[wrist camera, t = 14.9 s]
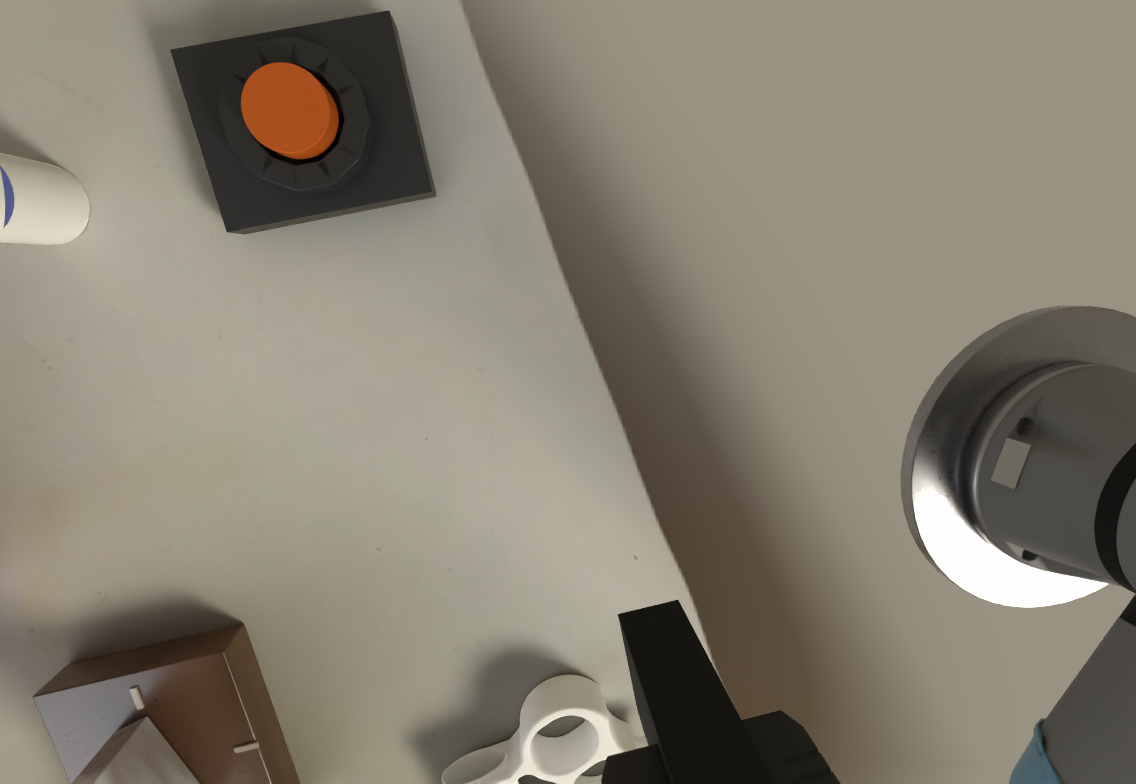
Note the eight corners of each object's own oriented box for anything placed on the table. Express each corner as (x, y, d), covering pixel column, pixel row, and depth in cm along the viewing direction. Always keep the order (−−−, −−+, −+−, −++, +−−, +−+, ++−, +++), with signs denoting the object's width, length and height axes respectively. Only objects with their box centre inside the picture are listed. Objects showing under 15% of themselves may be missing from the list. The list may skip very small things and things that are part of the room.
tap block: (245, 622, 39) (223, 652, 36) (304, 790, 42) (289, 831, 39) (65, 664, 39) (27, 698, 36) (137, 832, 41) (108, 877, 38)
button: (326, 66, 30) (315, 54, 29) (348, 151, 31) (339, 144, 30) (244, 81, 30) (228, 70, 28) (269, 166, 31) (255, 160, 29)
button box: (396, 26, 34) (382, -6, 30) (436, 196, 36) (428, 187, 32) (191, 63, 33) (149, 35, 29) (243, 234, 35) (210, 230, 31)
